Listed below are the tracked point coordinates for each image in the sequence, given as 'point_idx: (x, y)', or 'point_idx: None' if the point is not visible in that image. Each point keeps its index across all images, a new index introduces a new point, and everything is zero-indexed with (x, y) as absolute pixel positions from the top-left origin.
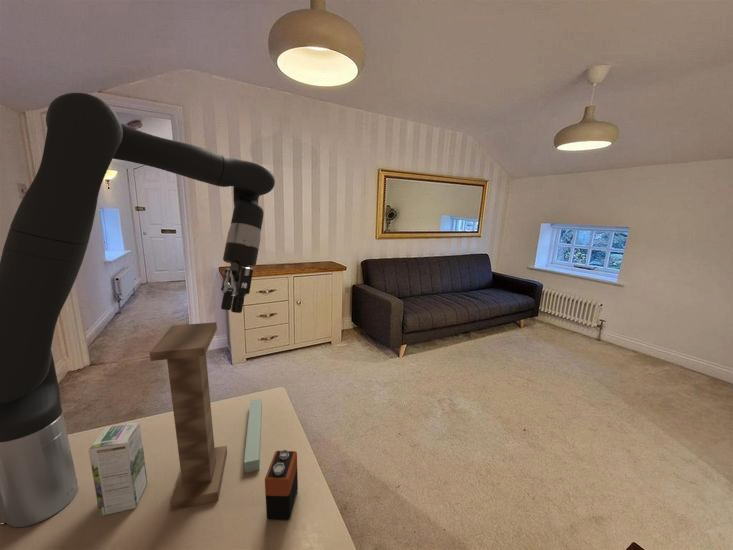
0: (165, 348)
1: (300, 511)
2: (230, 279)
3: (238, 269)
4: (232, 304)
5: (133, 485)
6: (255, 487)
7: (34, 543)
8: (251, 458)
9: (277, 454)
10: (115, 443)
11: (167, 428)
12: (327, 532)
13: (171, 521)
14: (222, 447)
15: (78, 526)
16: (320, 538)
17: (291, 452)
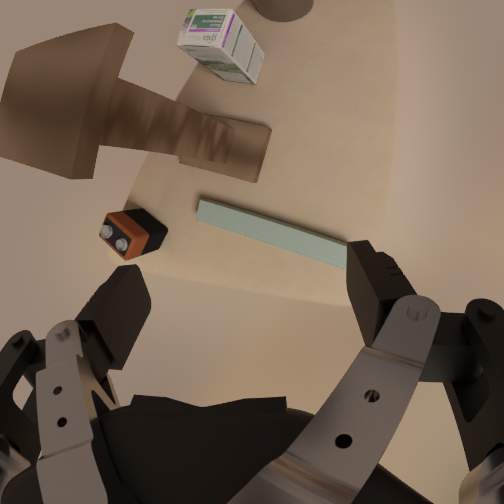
0: (13, 74)
1: None
2: (246, 459)
3: (2, 499)
4: (110, 284)
5: (210, 70)
6: (181, 206)
7: None
8: (202, 210)
9: (127, 237)
10: (181, 33)
11: (370, 105)
12: (114, 253)
13: None
14: (251, 176)
15: None
16: None
17: (123, 254)
